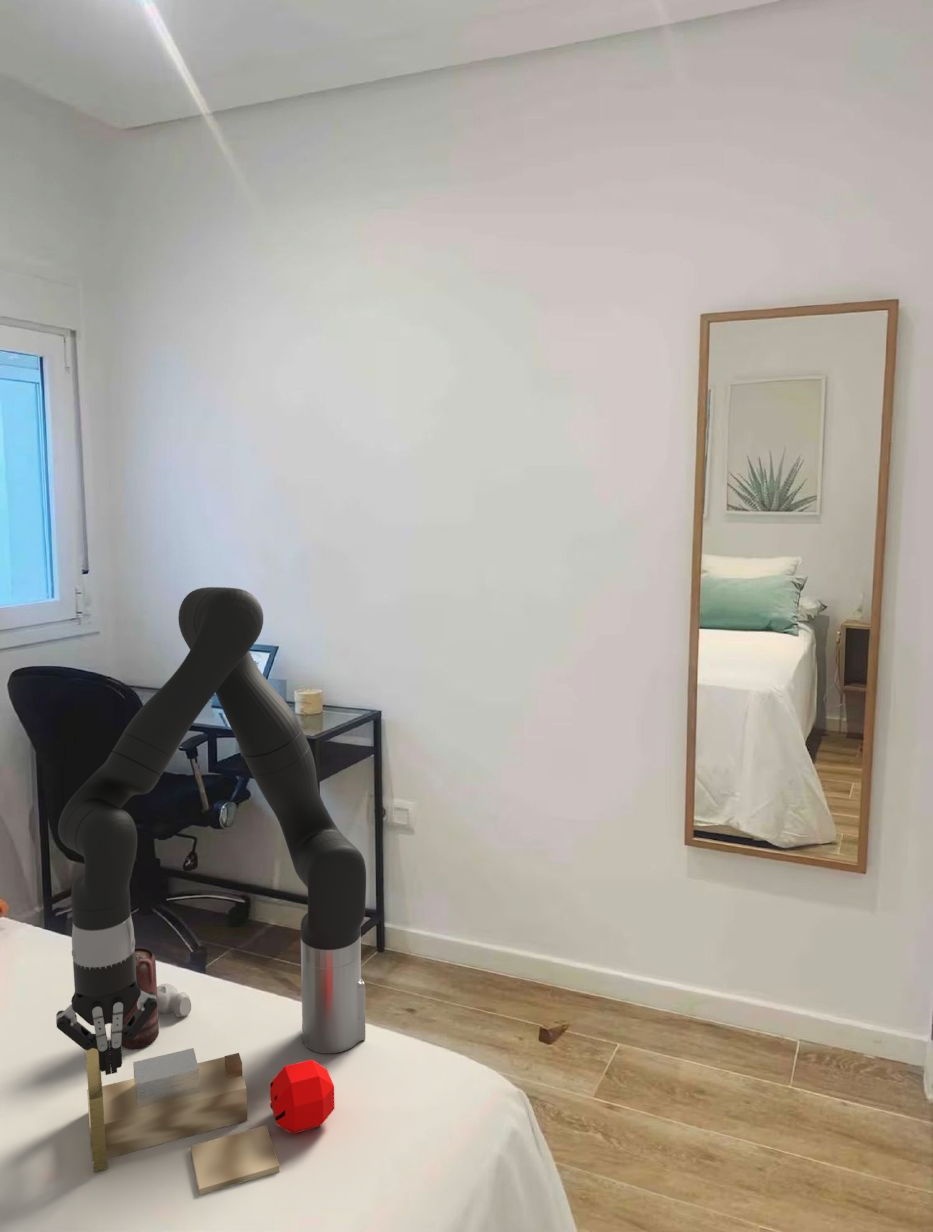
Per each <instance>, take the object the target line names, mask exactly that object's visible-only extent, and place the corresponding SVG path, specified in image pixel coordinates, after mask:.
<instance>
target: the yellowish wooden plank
mask: <svg viewBox="0 0 933 1232" xmlns="http://www.w3.org/2000/svg"><path fill="white" fill-rule="evenodd" d="M85 1057H86V1060H85V1061H86V1072H87V1073H86V1074H87V1077H86V1078H87V1090H89V1105H90V1121H91V1137H92V1153H93V1162H92V1165H93V1166H92V1167H93V1173H95V1172H99V1171H103V1170H106V1169H108V1162H107V1161H108V1158H106V1141H105V1124H104V1107H103V1092H102V1086H103V1083H102V1072H101V1070H100V1069H99V1055H98V1050H97V1049H94V1048H91V1049H90V1050H85Z"/></svg>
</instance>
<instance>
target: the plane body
mask: <svg viewBox="0 0 933 1232" xmlns="http://www.w3.org/2000/svg"><path fill="white" fill-rule="evenodd" d="M197 1064H198V1068H199V1086H200V1093H196V1094H192V1095H188V1096H184V1097H180V1098H176V1099H172V1100H168V1101H164V1102H160V1103H156V1104H152V1105H148V1106H144V1107H140V1108H138V1106H137V1099H136V1092H135V1085H134V1078H130V1079H126V1080H122V1081H118V1082H114V1083H109V1084H106V1085H102V1092H103V1107H104V1124H105V1141H106V1158H107V1159H109V1158H112V1157H116V1156H120V1155H123V1154H128V1153H131V1152H134V1151H138V1150H143V1149H146V1148H150V1147H153V1146H154V1147H155V1146H157V1145H160V1144H161V1145H162V1144H165V1143H169V1142H172V1141H175V1140H179V1139H180V1140H181V1139H184V1138H187V1137H191V1136H196V1135H198V1134H202V1133H206V1132H209V1131H212V1130H217V1129H220V1128H225V1127H228V1126H232V1125H235V1124H239V1123H242V1122H246V1121H248V1099H247V1098H248V1096H247V1086H246V1083H245V1079H244V1076H243V1061H242V1058H241V1056H240V1053H239V1052H235V1053H231V1054H227V1055H225V1056H221V1057H218V1058H214V1059H209V1060H206V1061H205V1060H204V1061H201V1062H197ZM86 1091H87V1092H86V1093H87V1107H88V1108H87V1109H88V1110H87V1111H88V1124H89V1126H88V1127H89V1139H90V1141H89V1142H90V1143H89V1144H90V1153H91V1154H90V1155H91V1156H90V1157H91V1163H93V1153H92V1137H91V1121H90V1105H89V1090H88V1089H87V1090H86Z"/></svg>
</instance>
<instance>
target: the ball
mask: <svg viewBox="0 0 933 1232" xmlns="http://www.w3.org/2000/svg"><path fill="white" fill-rule="evenodd" d="M334 1085H335V1084H334V1082H333V1080H332V1078H331V1075H330V1073H329V1071H328V1069H327V1068H325V1067H324V1066H322V1065H321V1064H319V1063H318V1062H317V1061H315V1060H314V1059H309V1060H304V1061H300V1062H297V1063H292V1064H288V1065H284V1066H283V1068H281V1070H280V1071H279V1072H278V1073H277V1075H275V1077H274V1078H273V1079H272V1080H271V1082H270V1083H269V1095H270V1096H269V1099H270V1104H269V1105H270V1109H271V1111H272V1114H273V1116H274V1119H275V1124H276V1125H277V1126H279V1127H280V1128H282V1129H283V1130H285V1131H286V1132H288V1133H290V1134H292V1135H293V1134H296V1133H300V1132H304V1131H308V1130H312V1129H315V1128H319V1127H321V1126H322V1125H323V1124H324V1122H325V1121H326V1120H327V1119H328V1117H329V1116H330V1115H331V1114H332V1112H333V1111H334V1110H335V1086H334Z"/></svg>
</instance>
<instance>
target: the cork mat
mask: <svg viewBox="0 0 933 1232" xmlns="http://www.w3.org/2000/svg"><path fill="white" fill-rule="evenodd" d="M189 1147H190V1156H191V1161H192V1165H193V1166H192V1167H193V1170H194V1175H195V1180H196V1184H197V1190H198V1195H200V1196H201V1195H204V1194H208V1193H211V1192H214V1191H216V1190H220V1189H224V1188H227V1187H231V1186H235V1185H237V1184H240V1183H244V1182H248V1181H251V1180H255V1179H257V1178H261V1177H262V1178H263V1177H265V1176H269V1175H272V1174H275V1173H278V1172H281V1171H280V1170H281V1169H280V1167H281V1166H280V1163H279V1159H278V1157H277V1154H276V1150H275V1148H274V1145H273V1142H272V1139H271V1136H270V1133H269V1130H268V1126H267V1125H263V1126H260V1127H256V1128H252V1129H248V1130H245V1131H241V1132H237V1133H233V1134H230V1135H226V1136H223V1137H218V1138H216V1139H212V1140H209V1141H205V1142H201V1143H196V1144H193V1145H190V1146H189Z"/></svg>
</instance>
